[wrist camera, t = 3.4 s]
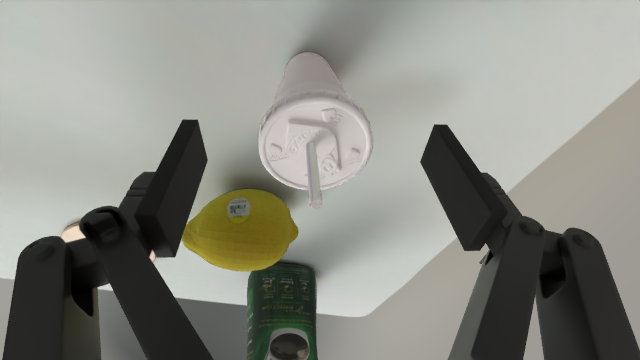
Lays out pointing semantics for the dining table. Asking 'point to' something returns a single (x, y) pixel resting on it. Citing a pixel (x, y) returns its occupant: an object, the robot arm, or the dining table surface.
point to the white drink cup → (313, 130)
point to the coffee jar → (282, 313)
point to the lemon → (241, 230)
